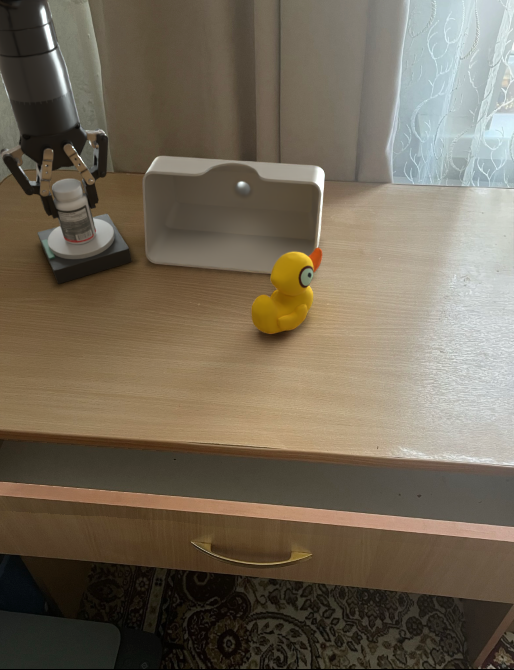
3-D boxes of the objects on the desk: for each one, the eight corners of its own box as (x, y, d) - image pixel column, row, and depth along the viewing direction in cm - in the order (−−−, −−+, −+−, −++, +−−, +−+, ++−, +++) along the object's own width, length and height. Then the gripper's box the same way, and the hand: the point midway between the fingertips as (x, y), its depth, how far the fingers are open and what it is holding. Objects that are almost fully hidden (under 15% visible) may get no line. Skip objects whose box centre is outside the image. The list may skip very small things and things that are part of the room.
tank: (323, 217, 90) (328, 144, 81) (314, 277, 79) (319, 200, 70) (175, 206, 93) (165, 134, 85) (145, 262, 82) (131, 186, 73)
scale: (58, 284, 79) (52, 266, 77) (41, 245, 86) (35, 227, 84) (132, 261, 82) (128, 243, 80) (110, 226, 89) (106, 208, 87)
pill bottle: (71, 226, 84) (56, 175, 78) (101, 228, 83) (88, 177, 77) (59, 244, 80) (42, 192, 75) (90, 246, 80) (76, 194, 74)
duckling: (302, 292, 77) (305, 230, 70) (331, 310, 74) (337, 248, 67) (241, 331, 71) (238, 269, 64) (270, 353, 68) (270, 290, 61)
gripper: (-19, 110, 62) (27, 237, 74) (105, 86, 67) (130, 210, 79) (-28, 88, 67) (17, 211, 79) (88, 68, 72) (114, 187, 84)
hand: (73, 210), depth 79 cm, fingers closed on pill bottle, 4 cm apart
